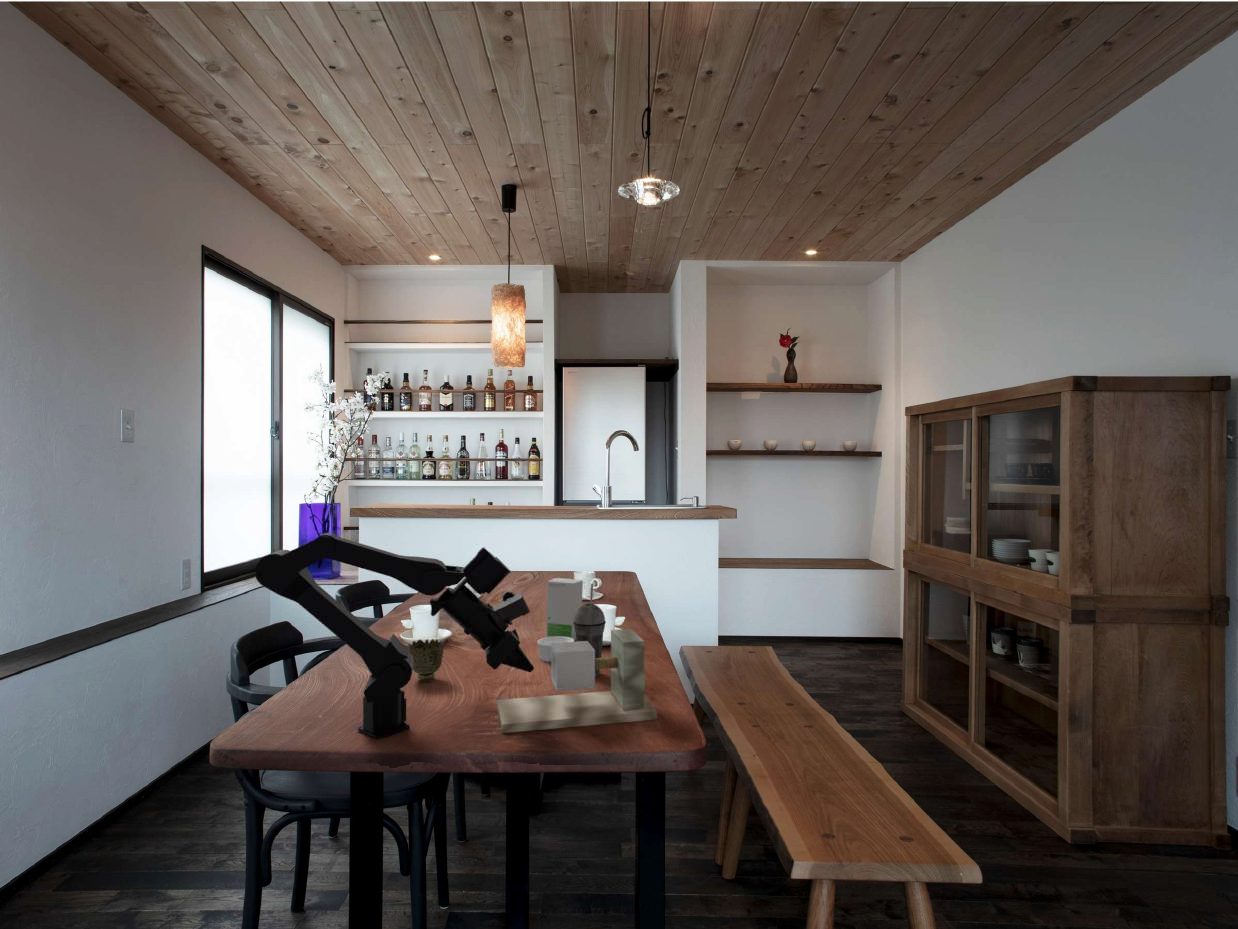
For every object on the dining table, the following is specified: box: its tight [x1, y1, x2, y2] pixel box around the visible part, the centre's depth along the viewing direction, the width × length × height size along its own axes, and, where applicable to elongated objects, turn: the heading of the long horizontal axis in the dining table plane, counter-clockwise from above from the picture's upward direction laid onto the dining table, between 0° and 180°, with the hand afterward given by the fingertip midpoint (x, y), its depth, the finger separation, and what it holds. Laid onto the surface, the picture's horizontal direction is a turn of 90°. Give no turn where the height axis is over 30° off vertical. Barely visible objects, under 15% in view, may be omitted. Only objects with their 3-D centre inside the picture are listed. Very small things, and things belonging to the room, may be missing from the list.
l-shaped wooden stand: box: [496, 628, 658, 734], centre depth 129 cm, size 28×13×14 cm, turn 104°
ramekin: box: [536, 636, 575, 663], centre depth 167 cm, size 9×9×4 cm
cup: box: [408, 638, 445, 682], centre depth 149 cm, size 8×7×8 cm
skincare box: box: [545, 577, 584, 641], centre depth 187 cm, size 8×7×16 cm
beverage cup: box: [573, 583, 606, 678], centre depth 154 cm, size 7×7×20 cm
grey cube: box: [550, 641, 596, 692], centre depth 129 cm, size 7×7×7 cm
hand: (532, 670), depth 127 cm, fingers closed
